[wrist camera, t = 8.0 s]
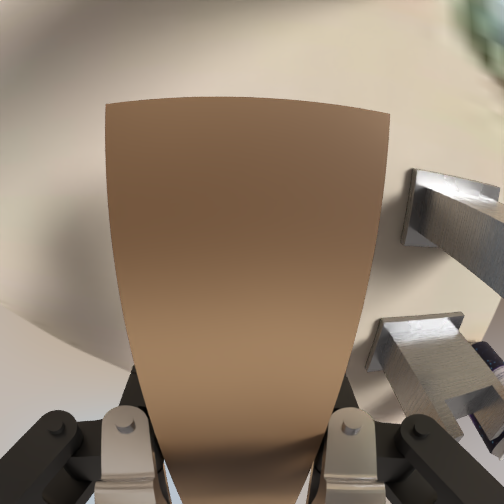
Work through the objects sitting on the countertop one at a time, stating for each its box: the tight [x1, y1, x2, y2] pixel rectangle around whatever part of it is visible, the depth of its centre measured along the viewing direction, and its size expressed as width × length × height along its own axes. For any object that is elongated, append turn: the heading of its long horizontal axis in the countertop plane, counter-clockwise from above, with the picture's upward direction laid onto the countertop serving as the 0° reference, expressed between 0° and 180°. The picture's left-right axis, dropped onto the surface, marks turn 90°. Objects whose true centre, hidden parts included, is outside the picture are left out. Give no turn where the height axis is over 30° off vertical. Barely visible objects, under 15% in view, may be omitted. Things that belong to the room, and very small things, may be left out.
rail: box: [105, 97, 390, 504], centre depth 8 cm, size 16×4×4 cm, turn 178°
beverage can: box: [469, 341, 504, 460], centre depth 19 cm, size 6×6×12 cm
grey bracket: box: [365, 312, 504, 442], centre depth 17 cm, size 5×8×11 cm, turn 87°
